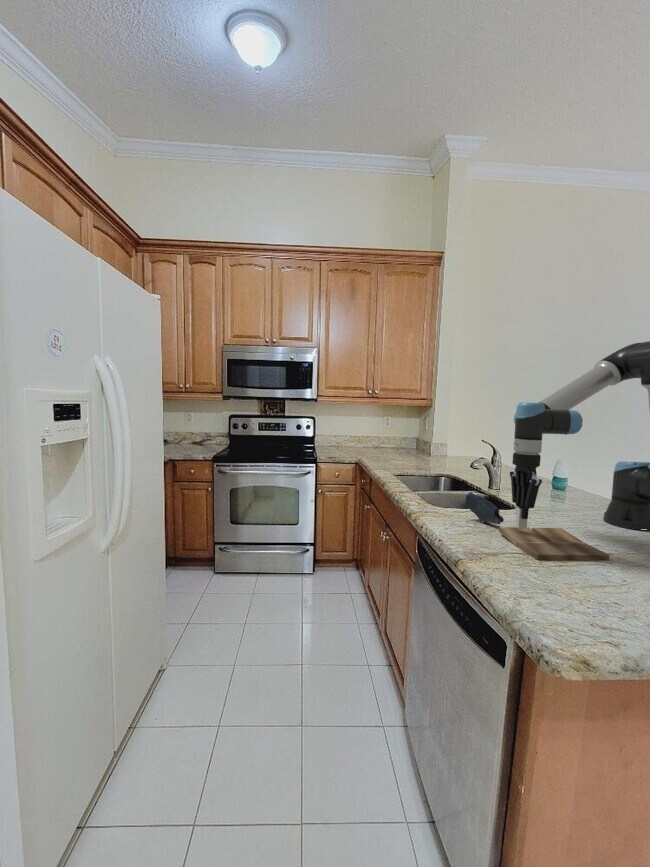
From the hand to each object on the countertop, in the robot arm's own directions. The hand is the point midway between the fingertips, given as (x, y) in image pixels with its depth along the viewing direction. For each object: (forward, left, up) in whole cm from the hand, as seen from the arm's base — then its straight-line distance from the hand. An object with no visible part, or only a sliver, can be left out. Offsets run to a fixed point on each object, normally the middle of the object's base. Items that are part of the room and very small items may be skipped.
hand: (521, 527), depth 119 cm
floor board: (-5, +12, -3) cm, 13 cm away
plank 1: (0, +2, -3) cm, 3 cm away
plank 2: (-11, +2, -3) cm, 11 cm away
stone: (+5, -14, -4) cm, 16 cm away
